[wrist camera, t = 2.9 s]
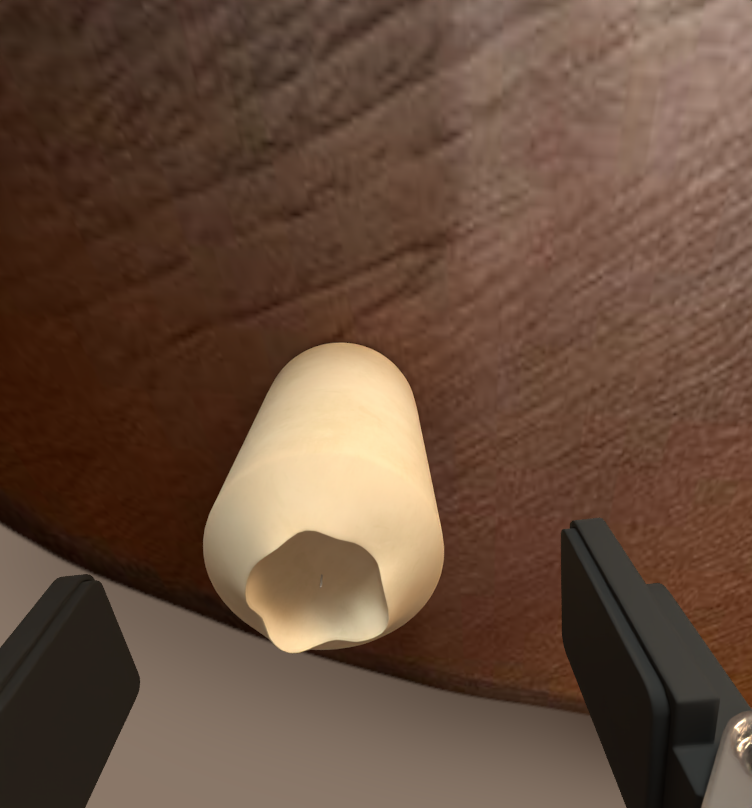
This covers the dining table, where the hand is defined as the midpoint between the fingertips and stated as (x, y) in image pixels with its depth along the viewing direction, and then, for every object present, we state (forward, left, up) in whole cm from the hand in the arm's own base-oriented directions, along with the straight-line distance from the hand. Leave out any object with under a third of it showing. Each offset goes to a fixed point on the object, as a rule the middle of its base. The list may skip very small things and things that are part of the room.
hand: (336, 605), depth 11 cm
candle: (0, 0, -10) cm, 10 cm away
